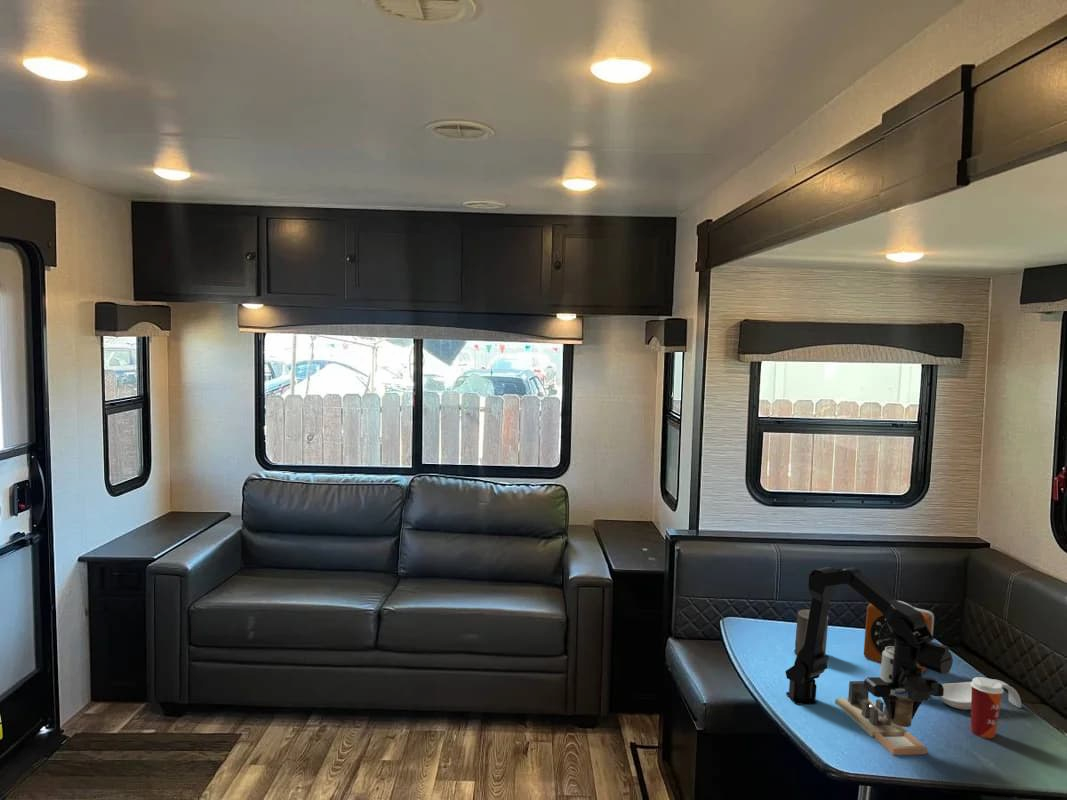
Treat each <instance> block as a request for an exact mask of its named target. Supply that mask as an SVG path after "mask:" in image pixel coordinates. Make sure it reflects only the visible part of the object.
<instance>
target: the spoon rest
mask: <svg viewBox="0 0 1067 800" xmlns="http://www.w3.org/2000/svg"><path fill="white" fill-rule="evenodd" d="M991 679H992V678H991ZM992 680H995V681H997V682H999V683H1000V684H1001V685H1002V688H1003V689H1006V690H1007V691H1008V702H1009V703H1010V704H1012V705H1013V706H1014V705H1015V706H1014V707H1016V708H1019V709H1021V708H1022V701H1021V700H1022V699H1021V697H1020V695H1019V693H1018V692H1017V690H1016V689H1015V688H1014V687H1012V686H1010V685H1009V684H1008V683H1006V682H1004V681H1002V680H999V679H996V678H995V679H992ZM971 682H972V681H964V682H950V683H949V682H948V683H943V684H942V683H941V684H942V685H943V688H944V695H943V696H938V698H939V699H940V700H941V701H942V702H943V703H944V704H946V705H947V706H949V707H951V708H954V709H957V710H964V711H967V710H968V711H969V710H971V695H972V686H971V684H970V683H971Z"/></svg>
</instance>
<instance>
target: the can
mask: <svg viewBox="0 0 1067 800" xmlns="http://www.w3.org/2000/svg"><path fill="white" fill-rule="evenodd" d="M893 658H894V646H887V647H885V650H884V651H883V652H882V663H880V664H881V665H880V678H881V679H882V680H883V681H885V682H892V680H891V679H889V674H892V670H893V665H892V664H891V663H890V659H893ZM905 692H906V691H905V690H896V691H895V694H896V693H899V694H901V693H905Z"/></svg>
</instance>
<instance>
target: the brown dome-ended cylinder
mask: <svg viewBox="0 0 1067 800" xmlns="http://www.w3.org/2000/svg"><path fill="white" fill-rule="evenodd" d="M895 696H896V697H898V700H896V701H895V714H894V719H893V720H892V719H890V720H891V722H892V723H894V724H896V725H898V726H902V727H903V728H909V727H911V726H912V720H913V719H912V711H913V700H911V699H910V698H908V696H904V695H900V694H899V695H898V694H897V695H896V694H895Z"/></svg>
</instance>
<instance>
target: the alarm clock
mask: <svg viewBox="0 0 1067 800" xmlns="http://www.w3.org/2000/svg"><path fill="white" fill-rule="evenodd" d="M897 601H898V602H900V603H903V604H906V605H909V606H910V607H912V608H914V609H915V610H917V611H919V612H920V613H921V614H922V615H923V616H924V620H925V624H926V625H927V627H928V629H929V631H930V633H931V635H932V637H933V638H934V636H933V635H934V625H935V615H934V613H933V612H932V611H930V610H927V609H922V608H918V607H915V606H913V605H911V604H910V603H908V602H905V601H902V600H897ZM893 630H894V629H893V628H892V627H891V626H890V625H889V624H888V623H887V620H886V618H885V616H884V615H883V614H882V613H881V612H880V611H879V610H878V609H877V608H875V607H874V606H873V605H872V604H871V603H869V604H868V605H867V607H866V619H865V629H864V631H865V632H864V643H863V644H864V645H863V656H864V658H866V659H867V660H871V661H874V662H876V663H879V664H882V652H883V651H884V650H885V647H887V646H895V640H893V639H890V638H887V635H888V634H890V633H892V632H893ZM919 635H921V634H920V633H919V632H918V633H916V634H914V636H915V637H916V636H919ZM931 642H933V640H932V641H931ZM918 666H919V667H920V668H921V671H922V672H921V674H923V673H924V672H926V670H928V669H927V668H924V667H922V666H920V664H918Z"/></svg>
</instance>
